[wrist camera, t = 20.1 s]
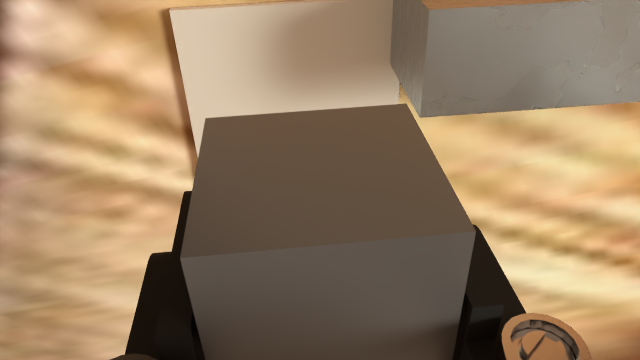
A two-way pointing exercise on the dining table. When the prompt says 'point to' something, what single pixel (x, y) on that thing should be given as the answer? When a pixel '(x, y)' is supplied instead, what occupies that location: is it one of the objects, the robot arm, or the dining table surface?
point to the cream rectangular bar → (324, 239)
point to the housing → (515, 54)
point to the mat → (284, 57)
